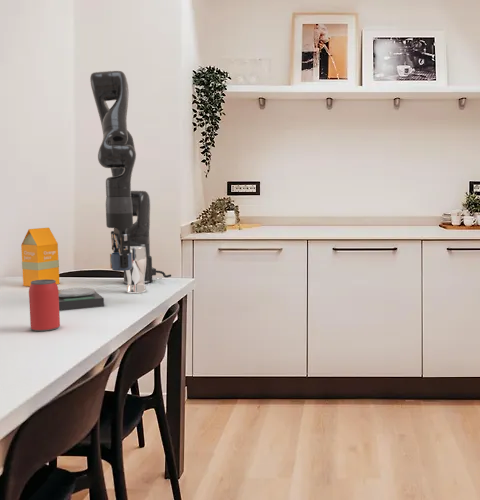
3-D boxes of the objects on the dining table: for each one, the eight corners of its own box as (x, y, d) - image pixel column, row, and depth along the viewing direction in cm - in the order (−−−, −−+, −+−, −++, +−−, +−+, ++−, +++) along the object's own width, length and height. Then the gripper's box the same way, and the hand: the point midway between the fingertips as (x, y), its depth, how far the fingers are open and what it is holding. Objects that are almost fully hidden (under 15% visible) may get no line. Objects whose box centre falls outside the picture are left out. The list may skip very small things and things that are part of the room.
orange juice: (22, 285, 214) (19, 228, 212) (44, 282, 222) (41, 227, 220) (39, 287, 211) (36, 229, 209) (60, 283, 219) (57, 227, 217)
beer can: (51, 324, 157) (48, 278, 156) (65, 328, 153) (63, 280, 152) (25, 329, 152) (22, 281, 150) (39, 333, 148) (37, 284, 147)
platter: (91, 289, 191) (91, 286, 191) (98, 294, 182) (97, 292, 182) (52, 292, 185) (52, 289, 185) (57, 298, 176) (57, 295, 176)
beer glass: (151, 290, 206) (150, 246, 205) (138, 294, 200) (136, 248, 198) (134, 289, 208) (133, 245, 207) (120, 292, 202) (119, 247, 200)
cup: (129, 267, 191) (129, 251, 190) (134, 270, 185) (134, 253, 185) (108, 268, 187) (108, 252, 187) (113, 271, 182) (112, 255, 181)
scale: (94, 298, 193) (93, 289, 192) (104, 306, 180) (103, 296, 180) (48, 302, 186) (48, 293, 185) (55, 311, 173) (55, 301, 173)
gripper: (138, 212, 180) (140, 268, 182) (126, 210, 192) (128, 262, 194) (111, 213, 176) (113, 270, 178) (101, 210, 188) (103, 264, 190)
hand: (121, 266), depth 186 cm, fingers closed on cup, 6 cm apart
